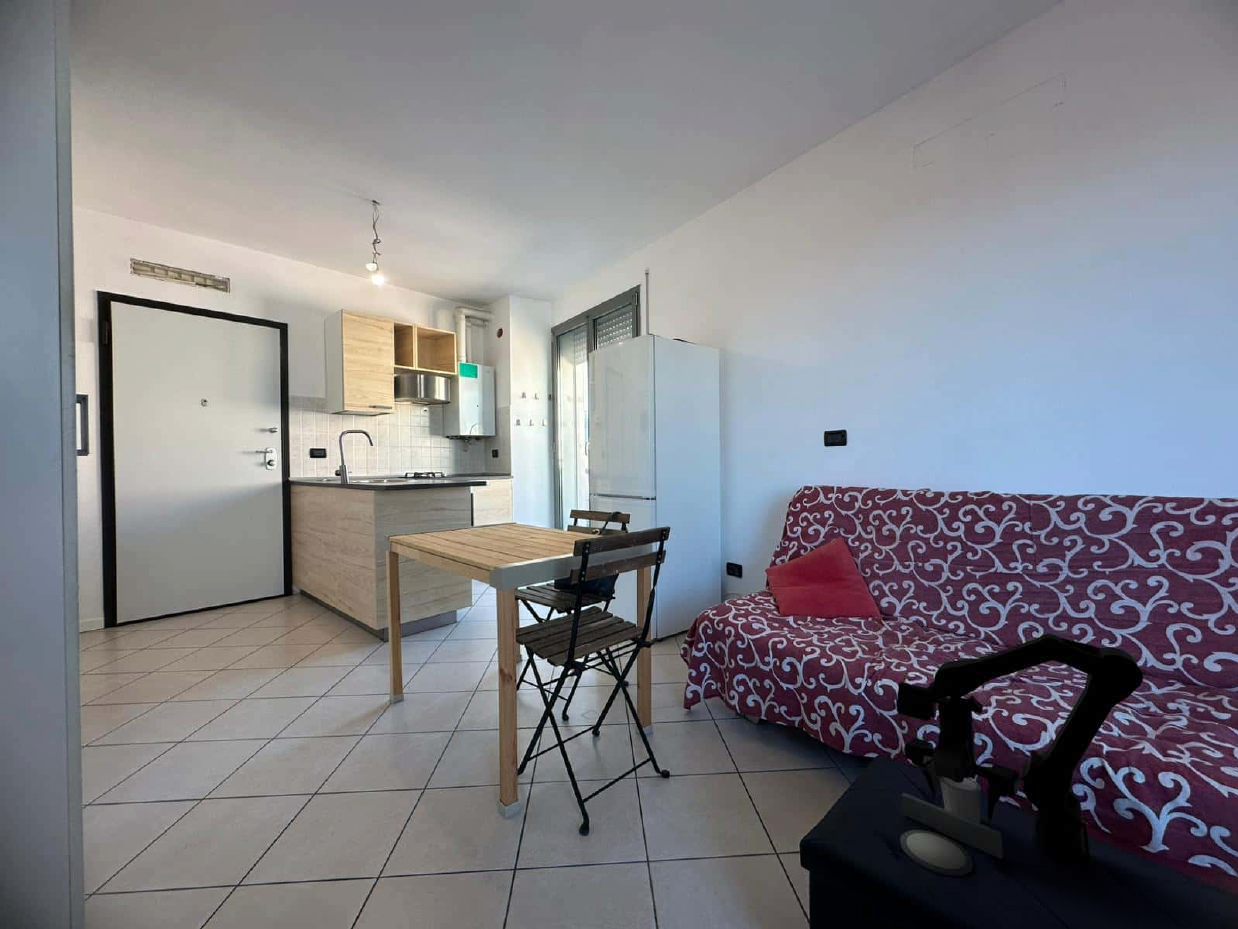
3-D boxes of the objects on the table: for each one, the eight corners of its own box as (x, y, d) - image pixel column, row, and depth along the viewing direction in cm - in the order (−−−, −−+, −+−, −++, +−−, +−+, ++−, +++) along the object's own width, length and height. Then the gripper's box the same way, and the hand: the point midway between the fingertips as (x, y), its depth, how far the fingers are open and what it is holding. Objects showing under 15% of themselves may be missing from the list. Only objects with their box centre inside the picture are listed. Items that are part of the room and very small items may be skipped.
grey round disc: (949, 833, 91) (948, 831, 91) (988, 878, 80) (988, 874, 80) (889, 831, 92) (889, 828, 92) (920, 874, 81) (920, 871, 81)
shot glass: (944, 823, 94) (942, 786, 95) (940, 804, 100) (937, 769, 101) (987, 834, 91) (984, 795, 91) (980, 813, 97) (977, 777, 98)
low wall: (902, 815, 96) (901, 795, 97) (905, 813, 97) (903, 792, 98) (1001, 859, 84) (999, 835, 85) (1003, 856, 85) (1001, 832, 85)
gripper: (891, 724, 99) (896, 803, 98) (1003, 759, 85) (1011, 852, 83) (911, 709, 106) (916, 782, 105) (1017, 739, 92) (1025, 825, 90)
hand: (962, 808), depth 96 cm, fingers open, 9 cm apart
